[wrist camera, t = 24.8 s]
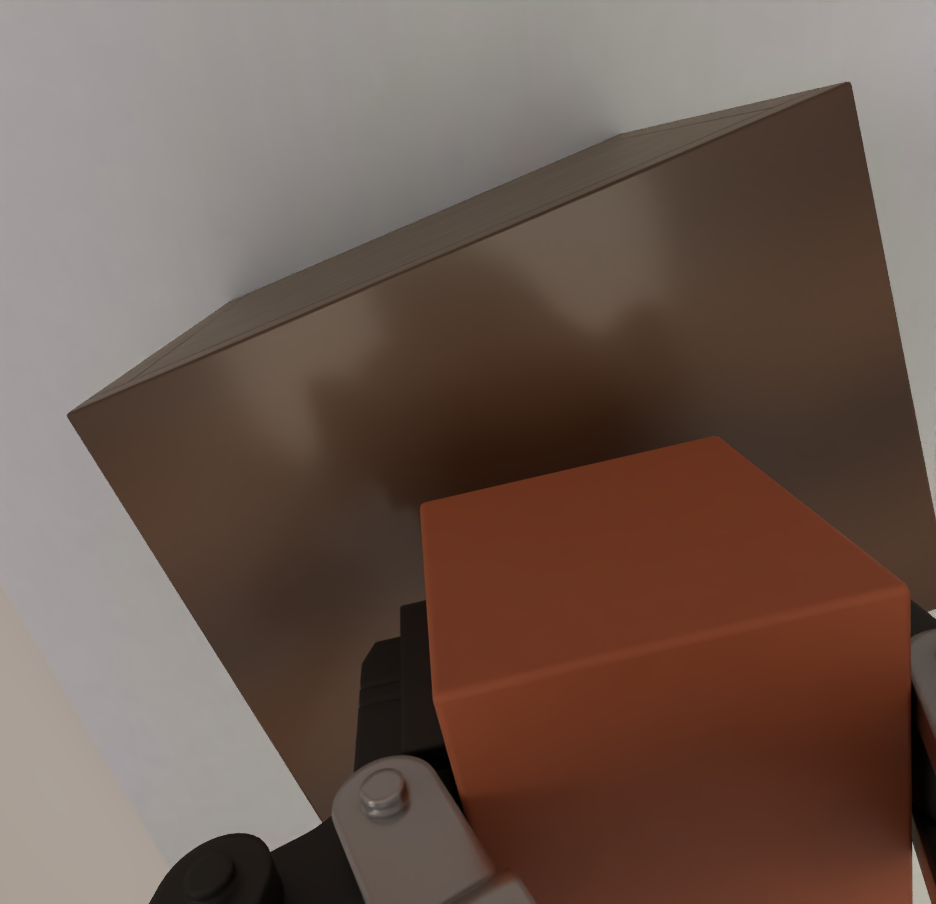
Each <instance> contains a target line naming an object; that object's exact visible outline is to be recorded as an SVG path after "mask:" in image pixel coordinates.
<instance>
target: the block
mask: <svg viewBox="0 0 936 904" xmlns="http://www.w3.org/2000/svg"><path fill="white" fill-rule="evenodd" d="M420 517H421V532H422V547H423V562H424V577H425V591H426V606H427V621H428V636H429V651H430V666H431V680H432V695H433V702H434V706H435V710H436V713H437V717H438V720H439V724H440V728H441V731H442V735H443V738H444V742H445V746H446V749H447V753H448V757H449V760H450V764H451V767H452V771H453V775H454V778H455V782H456V785H457V789H458V793H459V796H460V800H461V804H462V807H463V811H464V814H465V818H466V820H467V822H468V823H469V825H470V826H471V828H472V829H473V831H474V832H475V834H476V836H477V837H478V839H479V840H480V842H481V843H482V845H483V847H484V848H485V850H486V851H487V853H488V854H489V856H490V857H491V859H492V861H493V862H494V864H495V865H496V867H497V868H498V870H499V871H500V872H501V871H502V870H504V869H506V868H510V869H512V870H513V871H514V872H515V873H516V874H517V876H518V877H519V878H520V879H521V881H522V882H523V884H524V885H525V887H526V888H527V890H528V891H529V893H530V894H531V896H532V897H533V899H534V900H535V902H536V903H537V904H912V757H911V598H910V590H909V588H908V586H907V584H906V583H905V582H903V581H902V580H901V579H900V578H898V577H897V576H896V575H894V574H893V573H892V572H891V571H889V570H888V569H887V568H886V567H884V566H883V565H882V564H880V563H879V562H878V561H877V560H875V559H874V558H873V557H872V556H870V555H869V554H868V553H866V552H865V551H864V550H863V549H861V548H860V547H859V546H857V545H856V544H855V543H854V542H852V541H851V540H850V539H849V538H847V537H846V536H845V535H843V534H842V533H841V532H840V531H838V530H837V529H836V528H835V527H833V526H832V525H831V524H829V523H828V522H827V521H826V520H824V519H823V518H822V517H820V516H819V515H818V514H817V513H815V512H814V511H813V510H812V509H810V508H809V507H808V506H806V505H805V504H804V503H803V502H801V501H800V500H799V499H798V498H796V497H795V496H794V495H792V494H791V493H790V492H789V491H787V490H786V489H785V488H783V487H782V486H781V485H780V484H778V483H777V482H776V481H775V480H773V479H772V478H771V477H769V476H768V475H767V474H766V473H764V472H763V471H762V470H761V469H759V468H758V467H757V466H755V465H754V464H753V463H752V462H750V461H749V460H748V459H747V458H745V457H744V456H743V455H741V454H740V453H739V452H738V451H736V450H735V449H734V448H732V447H731V446H730V445H729V444H727V443H726V442H725V441H724V440H722V439H721V438H720V437H718V436H711V437H707V438H703V439H698V440H694V441H690V442H685V443H681V444H677V445H672V446H668V447H663V448H659V449H655V450H650V451H646V452H642V453H637V454H633V455H629V456H624V457H620V458H616V459H611V460H607V461H603V462H598V463H594V464H590V465H585V466H581V467H577V468H572V469H568V470H563V471H559V472H555V473H550V474H546V475H542V476H537V477H533V478H529V479H524V480H520V481H516V482H511V483H507V484H503V485H498V486H494V487H490V488H485V489H481V490H477V491H472V492H468V493H463V494H459V495H455V496H450V497H446V498H442V499H437V500H433V501H429V502H425V503H423V504H421V506H420Z"/></svg>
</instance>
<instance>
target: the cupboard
mask: <svg viewBox="0 0 936 904" xmlns="http://www.w3.org/2000/svg"><path fill="white" fill-rule="evenodd" d="M67 417H68V419H69V420H70V422H71V424H72V425H73V427H74V428H75V430H76V432H77V433H78V435H79V436H80V438H81V440H82V441H83V443H84V444H85V446H86V447H87V449H88V451H89V452H90V454H91V455H92V457H93V459H94V460H95V462H96V463H97V465H98V467H99V468H100V470H101V471H102V473H103V475H104V476H105V478H106V479H107V481H108V482H109V484H110V486H111V487H112V489H113V490H114V492H115V494H116V495H117V497H118V498H119V500H120V502H121V503H122V505H123V506H124V508H125V510H126V511H127V513H128V514H129V516H130V517H131V519H132V521H133V522H134V524H135V525H136V527H137V529H138V530H139V532H140V533H141V535H142V537H143V538H144V540H145V541H146V543H147V545H148V546H149V548H150V549H151V551H152V552H153V554H154V556H155V557H156V559H157V560H158V562H159V564H160V565H161V567H162V568H163V570H164V572H165V573H166V575H167V576H168V578H169V580H170V581H171V583H172V584H173V586H174V587H175V589H176V591H177V592H178V594H179V595H180V597H181V599H182V600H183V602H184V603H185V605H186V607H187V608H188V610H189V611H190V613H191V615H192V616H193V618H194V619H195V621H196V622H197V624H198V626H199V627H200V629H201V630H202V632H203V634H204V635H205V637H206V638H207V640H208V642H209V643H210V645H211V646H212V648H213V650H214V651H215V653H216V654H217V656H218V657H219V659H220V661H221V662H222V664H223V665H224V667H225V669H226V670H227V672H228V673H229V675H230V677H231V678H232V680H233V681H234V683H235V685H236V686H237V688H238V689H239V691H240V692H241V694H242V696H243V697H244V699H245V700H246V702H247V704H248V705H249V707H250V708H251V710H252V712H253V713H254V715H255V716H256V718H257V720H258V721H259V723H260V724H261V726H262V727H263V729H264V731H265V732H266V734H267V735H268V737H269V739H270V740H271V742H272V743H273V745H274V747H275V748H276V750H277V751H278V753H279V755H280V756H281V758H282V759H283V761H284V762H285V764H286V766H287V767H288V769H289V770H290V772H291V774H292V775H293V777H294V778H295V780H296V782H297V783H298V785H299V786H300V788H301V790H302V791H303V793H304V794H305V796H306V797H307V799H308V801H309V802H310V804H311V805H312V807H313V809H314V810H315V812H316V813H317V815H318V817H319V818H320V820H321V821H322V823H323V822H324V821H326V820H327V819H328V818H329V817H330V816H331V815H332V804H333V800H334V798H335V795H336V793H337V792H338V790H339V788H340V787H341V785H342V784H343V783H344V782H345V781H346V779H348V778H349V777H350V776H351V775H352V774H353V773H354V761H355V748H356V734H357V721H358V708H360V707H359V694H360V690H361V687H360V680H361V667H362V663H363V661H364V659H365V658H366V656H367V655H368V653H369V651H370V650H371V648H372V647H373V645H374V644H375V642H378V641H383V640H387V639H391V638H396V637H400V607H401V606H402V605H406V604H411V603H415V602H419V601H424V600H426V591H425V577H424V562H423V547H422V532H421V517H420V506H421V504H423V503H425V502H429V501H433V500H437V499H442V498H446V497H450V496H455V495H459V494H463V493H468V492H472V491H477V490H481V489H485V488H490V487H494V486H498V485H503V484H507V483H511V482H516V481H520V480H524V479H529V478H533V477H537V476H542V475H546V474H550V473H555V472H559V471H563V470H568V469H572V468H577V467H581V466H585V465H590V464H594V463H598V462H603V461H607V460H611V459H616V458H620V457H624V456H629V455H633V454H637V453H642V452H646V451H650V450H655V449H659V448H663V447H668V446H672V445H677V444H681V443H685V442H690V441H694V440H698V439H703V438H707V437H711V436H718V437H720V438H721V439H722V440H724V441H725V442H726V443H727V444H729V445H730V446H731V447H732V448H734V449H735V450H736V451H738V452H739V453H740V454H741V455H743V456H744V457H745V458H747V459H748V460H749V461H750V462H752V463H753V464H754V465H755V466H757V467H758V468H759V469H761V470H762V471H763V472H764V473H766V474H767V475H768V476H769V477H771V478H772V479H773V480H775V481H776V482H777V483H778V484H780V485H781V486H782V487H783V488H785V489H786V490H787V491H789V492H790V493H791V494H792V495H794V496H795V497H796V498H798V499H799V500H800V501H801V502H803V503H804V504H805V505H806V506H808V507H809V508H810V509H812V510H813V511H814V512H815V513H817V514H818V515H819V516H820V517H822V518H823V519H824V520H826V521H827V522H828V523H829V524H831V525H832V526H833V527H835V528H836V529H837V530H838V531H840V532H841V533H842V534H843V535H845V536H846V537H847V538H849V539H850V540H851V541H852V542H854V543H855V544H856V545H857V546H859V547H860V548H861V549H863V550H864V551H865V552H866V553H868V554H869V555H870V556H872V557H873V558H874V559H875V560H877V561H878V562H879V563H880V564H882V565H883V566H884V567H886V568H887V569H888V570H889V571H891V572H892V573H893V574H894V575H896V576H897V577H898V578H900V579H901V580H902V581H903V582H905V583H906V584H907V586H908V588H909V590H910V598H911V600H913V601H914V602H915V603H916V604H918V605H919V606H920V607H921V608H922V609H924V610H925V611H926V612H928V611H931V610H934V609H936V518H935V513H934V508H933V503H932V498H931V492H930V487H929V482H928V477H927V472H926V467H925V461H924V456H923V451H922V446H921V441H920V436H919V431H918V425H917V420H916V415H915V410H914V405H913V400H912V395H911V389H910V384H909V379H908V374H907V369H906V364H905V359H904V353H903V348H902V343H901V338H900V333H899V328H898V322H897V317H896V312H895V307H894V302H893V297H892V292H891V286H890V281H889V276H888V271H887V266H886V261H885V256H884V250H883V245H882V240H881V235H880V230H879V225H878V219H877V214H876V209H875V204H874V199H873V194H872V189H871V183H870V178H869V173H868V168H867V163H866V158H865V153H864V147H863V142H862V137H861V132H860V127H859V122H858V117H857V111H856V106H855V101H854V96H853V91H852V86H851V83H850V82H844V83H839V84H835V85H831V86H826V87H822V88H817V89H813V90H808V91H804V92H800V93H795V94H791V95H787V96H782V97H778V98H774V99H769V100H765V101H761V102H756V103H752V104H748V105H743V106H739V107H735V108H730V109H726V110H722V111H717V112H713V113H709V114H705V115H700V116H696V117H692V118H687V119H683V120H679V121H674V122H670V123H666V124H661V125H657V126H653V127H648V128H644V129H640V130H635V131H631V132H627V133H623V134H620V135H617V136H615V137H612V138H610V139H608V140H605V141H603V142H601V143H598V144H596V145H594V146H591V147H589V148H587V149H584V150H582V151H580V152H577V153H575V154H573V155H570V156H568V157H566V158H563V159H561V160H559V161H556V162H554V163H552V164H549V165H547V166H545V167H542V168H540V169H538V170H535V171H533V172H531V173H528V174H526V175H524V176H521V177H519V178H517V179H514V180H512V181H510V182H507V183H505V184H503V185H500V186H498V187H496V188H493V189H491V190H489V191H486V192H484V193H482V194H479V195H477V196H475V197H472V198H470V199H468V200H465V201H463V202H461V203H458V204H456V205H454V206H451V207H449V208H447V209H444V210H442V211H440V212H437V213H435V214H433V215H430V216H428V217H426V218H423V219H421V220H419V221H416V222H414V223H412V224H409V225H407V226H405V227H402V228H400V229H398V230H395V231H393V232H391V233H388V234H386V235H384V236H381V237H379V238H377V239H374V240H372V241H370V242H367V243H365V244H363V245H360V246H358V247H356V248H353V249H351V250H349V251H346V252H344V253H342V254H339V255H337V256H335V257H332V258H330V259H328V260H325V261H323V262H321V263H318V264H316V265H314V266H311V267H309V268H307V269H304V270H302V271H300V272H297V273H295V274H293V275H290V276H288V277H286V278H283V279H281V280H279V281H276V282H274V283H271V284H269V285H267V286H264V287H262V288H260V289H257V290H255V291H253V292H250V293H248V294H246V295H243V296H241V297H239V298H236V299H234V300H232V301H230V302H228V303H227V304H225V305H224V306H222V307H221V308H219V309H218V310H217V311H215V312H214V313H212V314H211V315H209V316H208V317H206V318H205V319H204V320H202V321H201V322H199V323H198V324H196V325H195V326H193V327H192V328H190V329H189V330H188V331H186V332H185V333H183V334H182V335H180V336H179V337H177V338H176V339H175V340H173V341H172V342H170V343H169V344H167V345H166V346H164V347H163V348H162V349H160V350H159V351H157V352H156V353H154V354H153V355H151V356H150V357H149V358H147V359H146V360H144V361H143V362H141V363H140V364H138V365H137V366H135V367H134V368H133V369H131V370H130V371H128V372H127V373H125V374H124V375H122V376H121V377H120V378H118V379H117V380H115V381H114V382H112V383H111V384H109V385H108V386H107V387H105V388H104V389H102V390H101V391H99V392H98V393H96V394H95V395H94V396H92V397H91V398H89V399H88V400H86V401H85V402H83V403H82V404H80V405H79V406H77V407H76V408H75V409H73V410H72V411H70V412H69V413H68V414H67Z"/></svg>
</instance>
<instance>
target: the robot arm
mask: <svg viewBox="0 0 936 904" xmlns="http://www.w3.org/2000/svg"><path fill="white" fill-rule="evenodd" d="M360 687H361V690H360V694H359V707H360V708H358V721H357V734H356V748H355V761H354V773H353V774H352V775H351V776H350V777H349V778H348V779H346V781H345V782H344V783H343V784H342V785H341V787H340V788H339V790H338V792H337V793H336V795H335V798H334V800H333V804H332V815H331V816H330V817H329V818H328V819H327V820H326V821H324V822H323V823H322V824H320V825H319V826H318V827H316V828H315V829H313V830H311V831H310V832H308V833H306V834H304V835H303V836H301V837H299V838H297V839H295V840H293V841H291V842H289V843H287V844H285V845H283V846H281V847H279V848H277V849H275V850H273V851H271V852H270V851H269V848H268V847H267V845H266V844H265V843H264V842H263V841H262V840H261V839H260V838H258V837H256V836H254V835H250V834H246V833H235V834H227V835H223V836H220V837H217V838H214V839H212V840H209V841H207V842H205V843H203V844H201V845H199V846H198V847H196V848H195V849H193V850H192V851H190V852H189V853H188V854H186V855H185V856H184V857H183V858H181V859H180V860H179V861H178V862H177V863H176V864H175V865H174V866H173V867H172V869H171V870H170V871H169V872H168V873H167V875H166V876H165V877H164V879H163V881H162V882H161V883H160V885H159V887H158V889H157V891H156V892H155V894H154V896H153V897H152V899H151V901H150V903H149V904H537V903H536V902H535V900H534V899H533V897H532V896H531V894H530V893H529V891H528V890H527V888H526V887H525V885H524V884H523V882H522V881H521V879H520V878H519V877H518V876H517V874H516V873H515V872H514V871H513V870H512V869H510V868H506V869H504V870H502V871H501V872H500V871H499V870H498V868H497V867H496V865H495V864H494V862H493V861H492V859H491V857H490V856H489V854H488V853H487V851H486V850H485V848H484V847H483V845H482V843H481V842H480V840H479V839H478V837H477V836H476V834H475V832H474V831H473V829H472V828H471V826H470V825H469V823H468V822H467V820H466V818H465V814H464V811H463V807H462V804H461V800H460V796H459V793H458V789H457V785H456V782H455V778H454V775H453V771H452V767H451V764H450V760H449V757H448V753H447V749H446V746H445V742H444V738H443V735H442V731H441V728H440V724H439V720H438V717H437V713H436V710H435V706H434V702H433V695H432V680H431V666H430V651H429V636H428V621H427V606H426V600H424V601H419V602H415V603H411V604H406V605H402V606H401V607H400V637H396V638H391V639H387V640H383V641H378V642H375V644H374V645H373V647H372V648H371V650H370V651H369V653H368V655H367V656H366V658H365V659H364V661H363V663H362V667H361V680H360ZM911 757H912V842H913V845H914V848H915V852H916V855H917V858H918V861H919V865H920V868H921V871H922V874H923V877H924V881H925V884H926V887H927V890H928V894H929V897H930V900H931V903H932V904H936V619H935V618H934V617H932V616H931V615H930V614H929V613H927V612H926V611H925V610H924V609H922V608H921V607H920V606H919V605H918V604H916V603H915V602H914V601H913V600H911Z"/></svg>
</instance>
